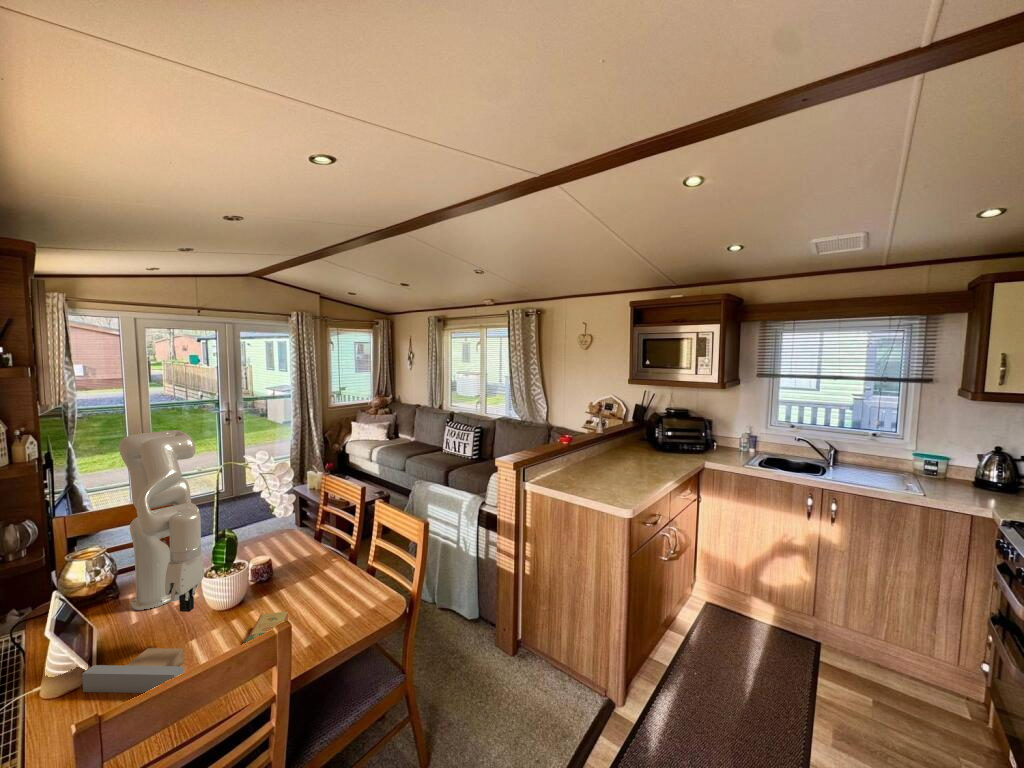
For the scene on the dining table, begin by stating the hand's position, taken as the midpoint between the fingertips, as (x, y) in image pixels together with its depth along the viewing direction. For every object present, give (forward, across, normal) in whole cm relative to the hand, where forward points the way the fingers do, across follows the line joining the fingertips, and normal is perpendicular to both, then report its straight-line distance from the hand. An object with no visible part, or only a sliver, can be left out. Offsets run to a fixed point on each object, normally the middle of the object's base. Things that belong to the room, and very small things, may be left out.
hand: (186, 609), depth 130 cm
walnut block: (+9, +14, +2) cm, 17 cm away
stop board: (+9, +20, +2) cm, 22 cm away
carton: (+9, 0, +25) cm, 26 cm away
